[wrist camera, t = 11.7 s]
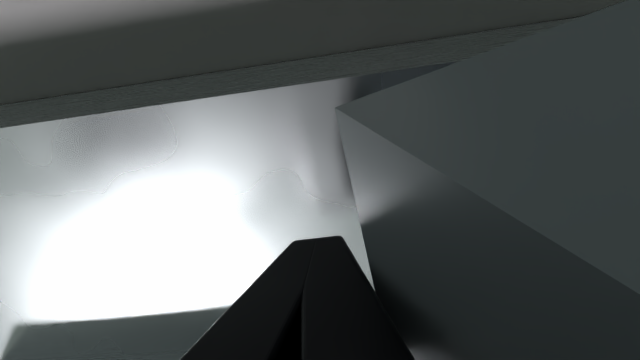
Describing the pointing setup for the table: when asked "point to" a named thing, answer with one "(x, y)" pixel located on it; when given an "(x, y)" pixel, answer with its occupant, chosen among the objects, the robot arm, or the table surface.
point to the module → (509, 196)
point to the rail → (180, 195)
